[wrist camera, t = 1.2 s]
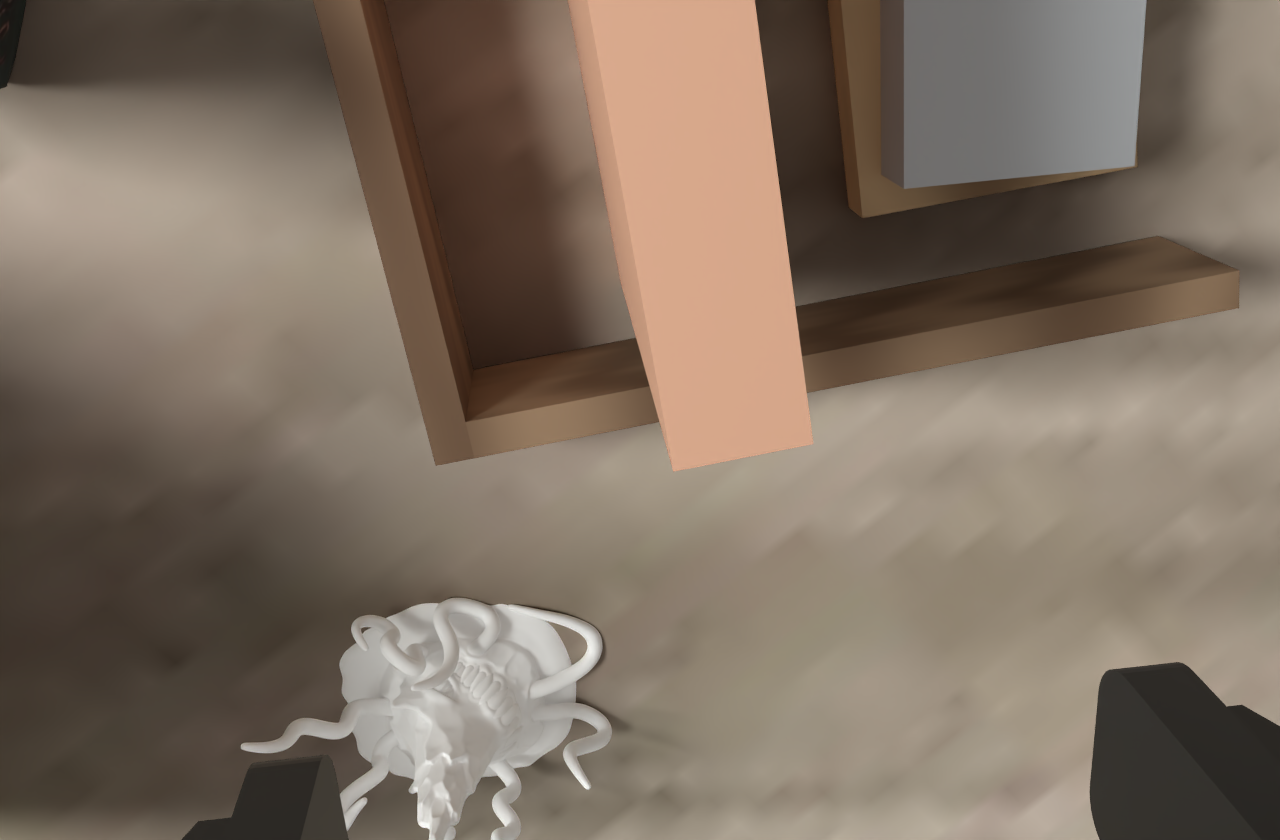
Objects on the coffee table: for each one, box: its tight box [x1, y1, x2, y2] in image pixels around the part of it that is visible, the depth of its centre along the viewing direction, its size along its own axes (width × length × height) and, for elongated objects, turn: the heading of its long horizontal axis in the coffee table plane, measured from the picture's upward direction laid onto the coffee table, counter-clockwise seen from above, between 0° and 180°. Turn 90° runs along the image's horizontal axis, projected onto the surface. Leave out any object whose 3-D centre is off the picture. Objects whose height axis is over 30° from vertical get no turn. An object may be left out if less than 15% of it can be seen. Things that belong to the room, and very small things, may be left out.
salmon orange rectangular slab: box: [568, 0, 813, 472], centre depth 30 cm, size 3×14×16 cm, turn 10°
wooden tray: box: [313, 0, 1239, 466], centre depth 35 cm, size 25×20×5 cm
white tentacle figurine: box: [241, 598, 612, 840], centre depth 40 cm, size 9×12×9 cm
